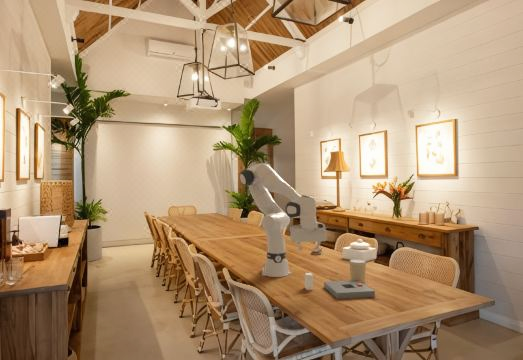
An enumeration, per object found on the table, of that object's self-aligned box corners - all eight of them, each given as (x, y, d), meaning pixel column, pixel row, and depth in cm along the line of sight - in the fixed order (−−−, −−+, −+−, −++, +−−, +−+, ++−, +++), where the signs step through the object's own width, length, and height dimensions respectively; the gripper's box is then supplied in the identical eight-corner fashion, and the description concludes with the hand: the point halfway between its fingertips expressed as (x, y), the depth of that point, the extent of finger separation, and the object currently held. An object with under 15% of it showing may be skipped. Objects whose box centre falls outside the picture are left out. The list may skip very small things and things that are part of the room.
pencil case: (306, 256, 275) (306, 249, 275) (314, 251, 293) (314, 245, 293) (319, 257, 270) (319, 251, 270) (327, 252, 287) (327, 246, 287)
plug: (303, 286, 195) (303, 272, 195) (309, 285, 196) (309, 271, 196) (307, 290, 189) (306, 275, 189) (313, 289, 189) (313, 274, 189)
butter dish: (362, 264, 248) (362, 241, 248) (342, 259, 262) (342, 238, 262) (376, 260, 259) (376, 239, 259) (356, 256, 273) (355, 236, 273)
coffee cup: (367, 280, 206) (367, 260, 206) (363, 284, 198) (363, 263, 198) (352, 278, 210) (352, 258, 210) (347, 282, 202) (347, 261, 202)
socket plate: (324, 287, 193) (324, 280, 194) (358, 285, 197) (358, 278, 197) (337, 299, 174) (337, 291, 174) (374, 296, 177) (374, 289, 177)
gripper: (291, 225, 187) (291, 251, 186) (327, 224, 190) (328, 250, 190) (288, 224, 193) (288, 249, 193) (324, 223, 196) (324, 248, 196)
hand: (308, 249), depth 191 cm, fingers open, 8 cm apart
